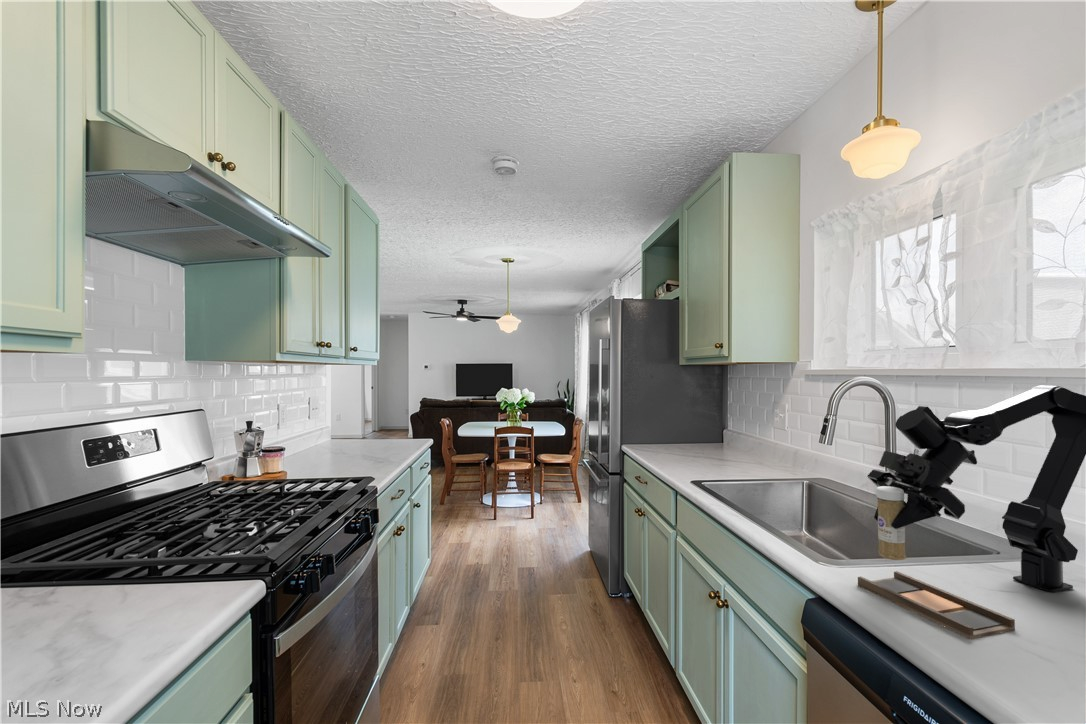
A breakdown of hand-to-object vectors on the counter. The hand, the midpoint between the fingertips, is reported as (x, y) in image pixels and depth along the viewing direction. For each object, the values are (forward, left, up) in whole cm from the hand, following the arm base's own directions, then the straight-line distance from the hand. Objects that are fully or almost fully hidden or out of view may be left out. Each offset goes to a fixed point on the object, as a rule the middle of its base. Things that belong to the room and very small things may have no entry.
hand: (884, 523), depth 100 cm
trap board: (-2, +7, -13) cm, 15 cm away
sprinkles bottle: (-1, 0, -7) cm, 7 cm away
